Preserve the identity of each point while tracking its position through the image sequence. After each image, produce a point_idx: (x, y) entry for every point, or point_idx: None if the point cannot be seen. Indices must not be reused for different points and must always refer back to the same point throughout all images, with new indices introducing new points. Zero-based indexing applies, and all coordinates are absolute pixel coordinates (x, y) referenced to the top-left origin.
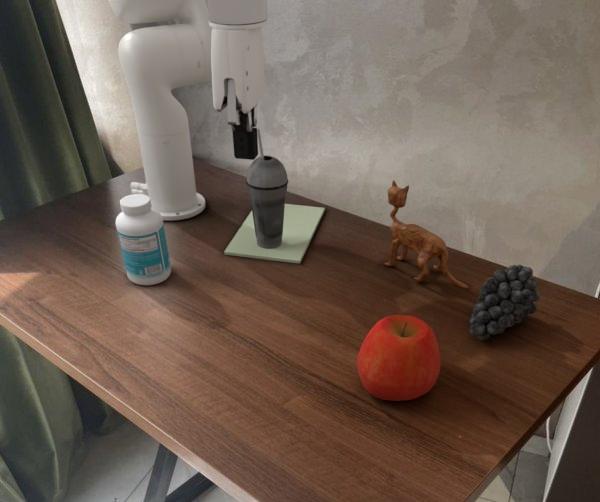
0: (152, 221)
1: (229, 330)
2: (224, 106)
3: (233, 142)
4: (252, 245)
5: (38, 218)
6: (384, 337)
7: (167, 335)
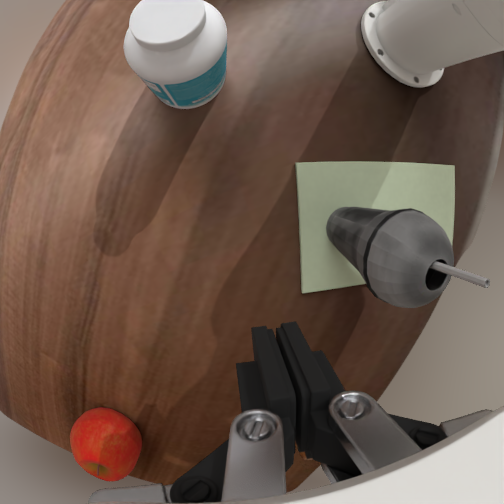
0: (154, 70)
1: (100, 262)
2: (283, 495)
3: (260, 360)
4: (330, 203)
5: None
6: (77, 458)
7: (62, 189)
